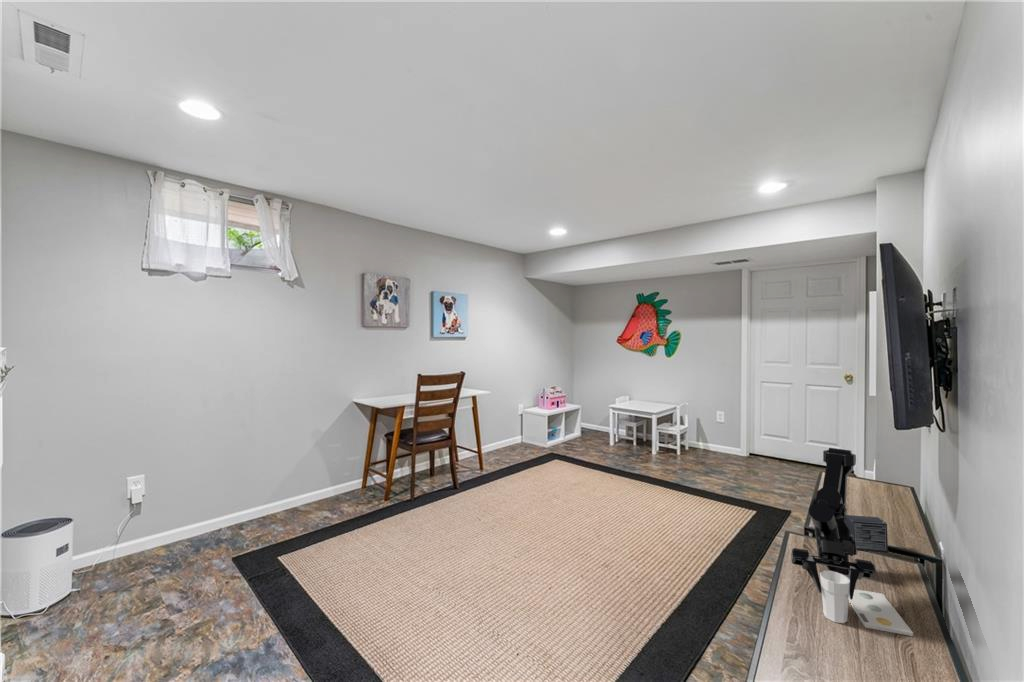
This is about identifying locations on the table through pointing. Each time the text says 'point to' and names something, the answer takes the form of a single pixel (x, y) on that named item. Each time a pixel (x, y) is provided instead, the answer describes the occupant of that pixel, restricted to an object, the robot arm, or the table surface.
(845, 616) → the cup
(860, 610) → the indicator panel
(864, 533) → the small box
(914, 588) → the table surface
